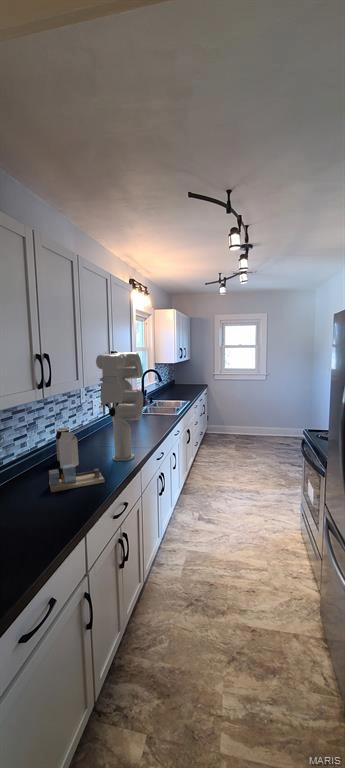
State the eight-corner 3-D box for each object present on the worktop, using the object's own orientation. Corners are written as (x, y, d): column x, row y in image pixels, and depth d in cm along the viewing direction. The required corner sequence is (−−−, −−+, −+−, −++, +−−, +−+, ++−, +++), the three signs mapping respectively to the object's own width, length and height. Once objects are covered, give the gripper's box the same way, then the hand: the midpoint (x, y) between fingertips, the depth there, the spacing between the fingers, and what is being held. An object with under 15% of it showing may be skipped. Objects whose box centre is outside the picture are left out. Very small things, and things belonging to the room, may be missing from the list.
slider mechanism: (49, 484, 164) (48, 469, 163) (100, 475, 174) (99, 460, 173) (51, 492, 155) (50, 475, 154) (104, 482, 165) (103, 466, 164)
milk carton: (72, 469, 184) (70, 434, 182) (60, 468, 185) (57, 434, 183) (78, 464, 191) (76, 430, 189) (67, 464, 192) (64, 430, 190)
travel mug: (60, 457, 204) (58, 427, 203) (73, 457, 204) (71, 427, 202) (55, 462, 197) (53, 431, 195) (69, 461, 196) (67, 430, 194)
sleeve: (63, 479, 165) (62, 465, 164) (74, 477, 167) (73, 463, 166) (65, 483, 159) (64, 468, 158) (76, 481, 161) (75, 467, 160)
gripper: (96, 381, 166) (99, 419, 168) (127, 379, 172) (128, 415, 174) (93, 380, 173) (95, 416, 175) (122, 378, 179) (124, 413, 181)
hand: (112, 416), depth 175 cm, fingers closed
